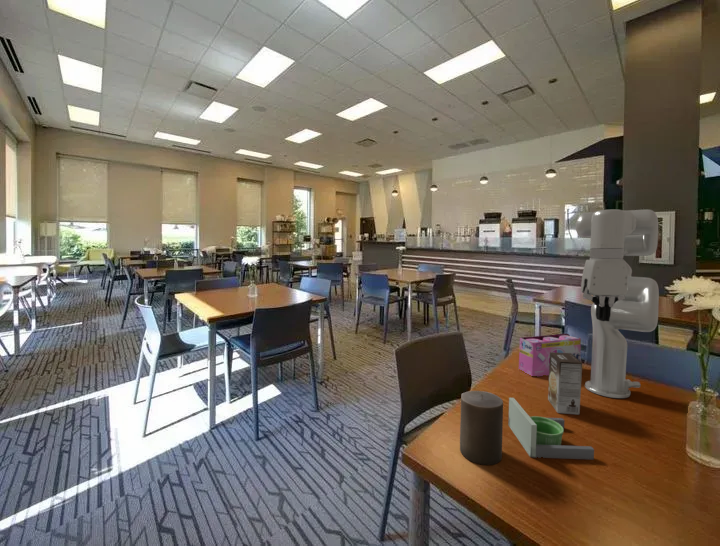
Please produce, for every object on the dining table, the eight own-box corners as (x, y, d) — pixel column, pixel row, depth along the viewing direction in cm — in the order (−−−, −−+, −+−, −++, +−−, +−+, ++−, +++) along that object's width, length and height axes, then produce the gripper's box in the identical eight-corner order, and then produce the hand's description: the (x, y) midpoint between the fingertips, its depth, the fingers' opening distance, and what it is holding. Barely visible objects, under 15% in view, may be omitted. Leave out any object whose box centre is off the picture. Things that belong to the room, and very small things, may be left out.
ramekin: (556, 456, 81) (557, 439, 81) (517, 441, 87) (518, 424, 87) (567, 441, 87) (568, 424, 87) (530, 427, 94) (531, 412, 93)
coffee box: (546, 399, 110) (548, 351, 109) (568, 401, 109) (570, 352, 108) (557, 413, 101) (559, 361, 100) (581, 415, 100) (583, 362, 99)
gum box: (566, 364, 142) (568, 333, 141) (583, 371, 134) (585, 338, 133) (517, 370, 136) (519, 337, 135) (532, 377, 129) (533, 342, 127)
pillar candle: (498, 470, 76) (501, 406, 75) (455, 457, 81) (456, 396, 80) (504, 448, 84) (506, 390, 83) (464, 437, 89) (465, 382, 88)
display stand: (561, 426, 94) (563, 398, 93) (593, 459, 80) (595, 426, 79) (508, 425, 95) (509, 397, 94) (530, 457, 81) (531, 425, 80)
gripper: (625, 254, 97) (621, 317, 98) (570, 254, 98) (567, 317, 100) (645, 255, 89) (640, 323, 91) (585, 255, 91) (582, 323, 92)
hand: (602, 320), depth 95 cm, fingers closed
